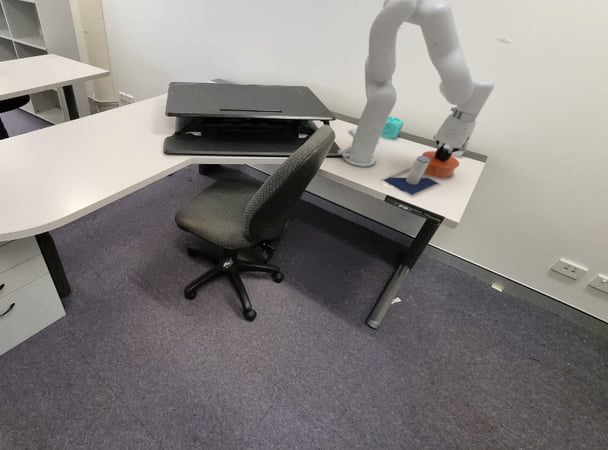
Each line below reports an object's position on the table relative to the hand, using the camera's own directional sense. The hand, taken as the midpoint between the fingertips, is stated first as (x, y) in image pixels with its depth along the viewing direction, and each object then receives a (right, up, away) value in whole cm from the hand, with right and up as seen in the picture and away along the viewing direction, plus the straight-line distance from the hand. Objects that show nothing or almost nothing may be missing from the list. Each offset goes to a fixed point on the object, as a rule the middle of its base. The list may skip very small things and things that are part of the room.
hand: (440, 158), depth 133 cm
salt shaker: (-14, -10, -4) cm, 18 cm away
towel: (-14, -10, -3) cm, 18 cm away
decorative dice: (-6, +17, +28) cm, 33 cm away
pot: (0, -4, +4) cm, 6 cm away
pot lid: (0, -1, +1) cm, 1 cm away
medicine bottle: (+16, +6, +16) cm, 23 cm away
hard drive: (-19, +16, +26) cm, 36 cm away
